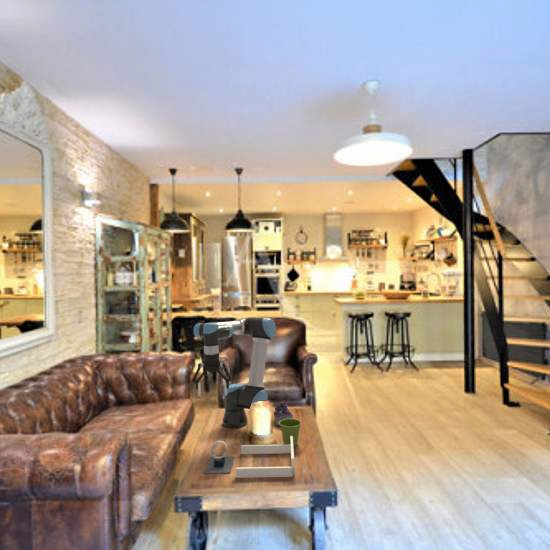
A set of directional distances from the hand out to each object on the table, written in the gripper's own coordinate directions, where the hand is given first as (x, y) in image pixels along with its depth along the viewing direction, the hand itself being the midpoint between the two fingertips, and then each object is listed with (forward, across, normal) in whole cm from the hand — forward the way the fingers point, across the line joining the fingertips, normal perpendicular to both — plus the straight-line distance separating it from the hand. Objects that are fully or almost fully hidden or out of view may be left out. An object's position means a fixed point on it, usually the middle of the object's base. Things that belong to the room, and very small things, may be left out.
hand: (212, 395), depth 205 cm
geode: (+29, +34, +41) cm, 61 cm away
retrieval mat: (+29, +5, -15) cm, 33 cm away
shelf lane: (+29, +27, -15) cm, 42 cm away
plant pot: (+29, +39, +7) cm, 49 cm away
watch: (+28, +5, -15) cm, 33 cm away
